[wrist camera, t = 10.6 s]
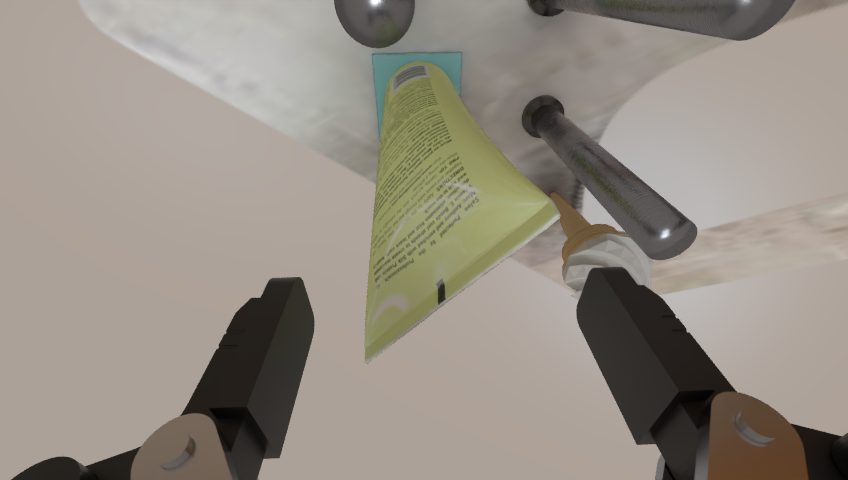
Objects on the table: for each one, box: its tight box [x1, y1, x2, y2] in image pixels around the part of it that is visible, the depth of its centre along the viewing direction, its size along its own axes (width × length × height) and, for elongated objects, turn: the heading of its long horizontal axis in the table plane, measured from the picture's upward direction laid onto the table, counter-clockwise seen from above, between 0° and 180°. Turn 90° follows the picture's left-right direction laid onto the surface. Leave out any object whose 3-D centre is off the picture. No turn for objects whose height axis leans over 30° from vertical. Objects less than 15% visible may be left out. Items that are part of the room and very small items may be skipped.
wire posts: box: [334, 0, 795, 260], centre depth 18 cm, size 14×11×16 cm
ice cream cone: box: [550, 192, 653, 300], centre depth 25 cm, size 6×6×15 cm
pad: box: [372, 52, 462, 139], centre depth 25 cm, size 6×6×1 cm
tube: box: [365, 61, 560, 364], centre depth 17 cm, size 6×5×20 cm
